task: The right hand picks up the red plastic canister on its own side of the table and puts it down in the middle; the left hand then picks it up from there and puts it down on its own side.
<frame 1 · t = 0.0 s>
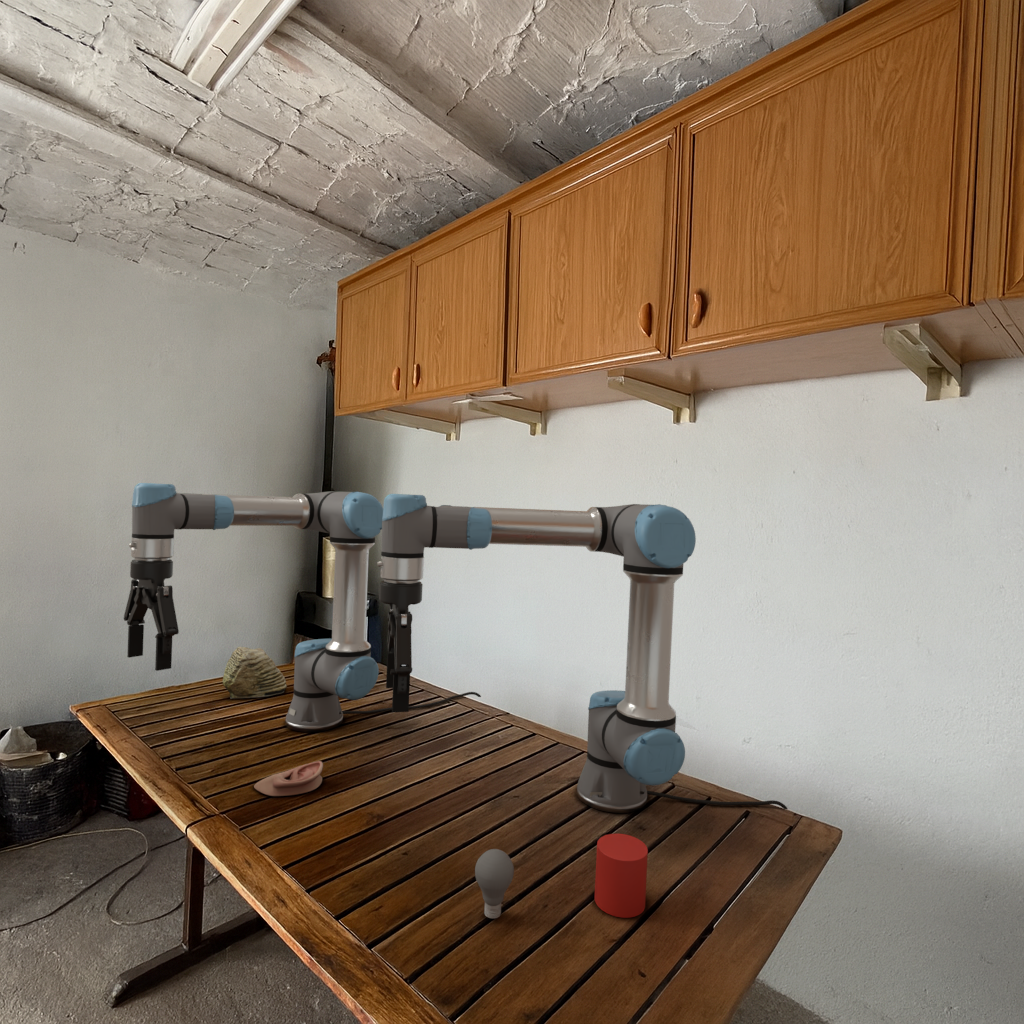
left hand: (148, 662, 129), 28 cm above the table, tool pointing down, fingers open, 13 cm apart
right hand: (396, 699, 113), 28 cm above the table, tool pointing down, fingers open, 13 cm apart
light bulb: (492, 917, 98), on the table
anatomical model: (288, 785, 138), on the table
canister: (619, 901, 103), on the table
fossil: (254, 694, 198), on the table
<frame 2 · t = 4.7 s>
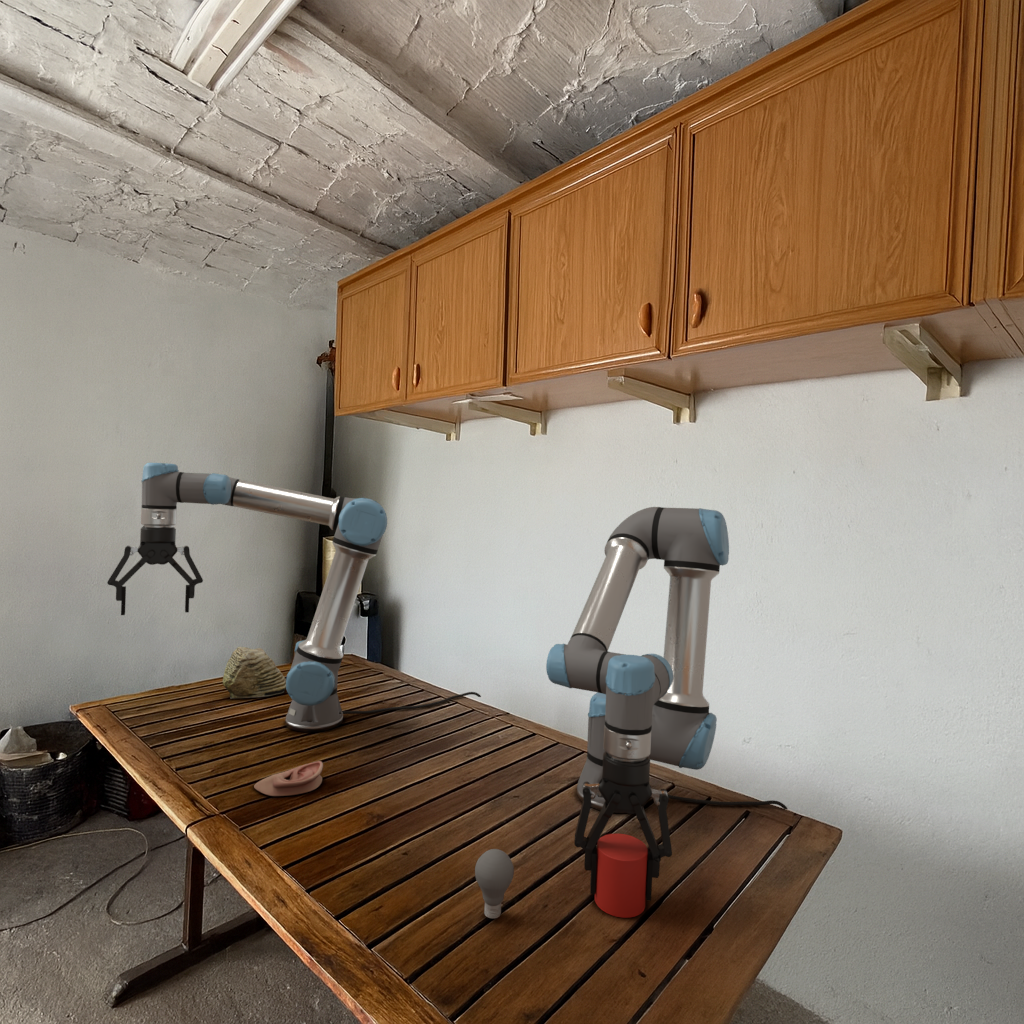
left hand: (155, 613, 155), 33 cm above the table, tool pointing down, fingers open, 13 cm apart
right hand: (620, 891, 103), 2 cm above the table, tool pointing down, fingers closed on canister, 8 cm apart
canister: (619, 901, 103), on the table, touching right hand
everything else where it was.
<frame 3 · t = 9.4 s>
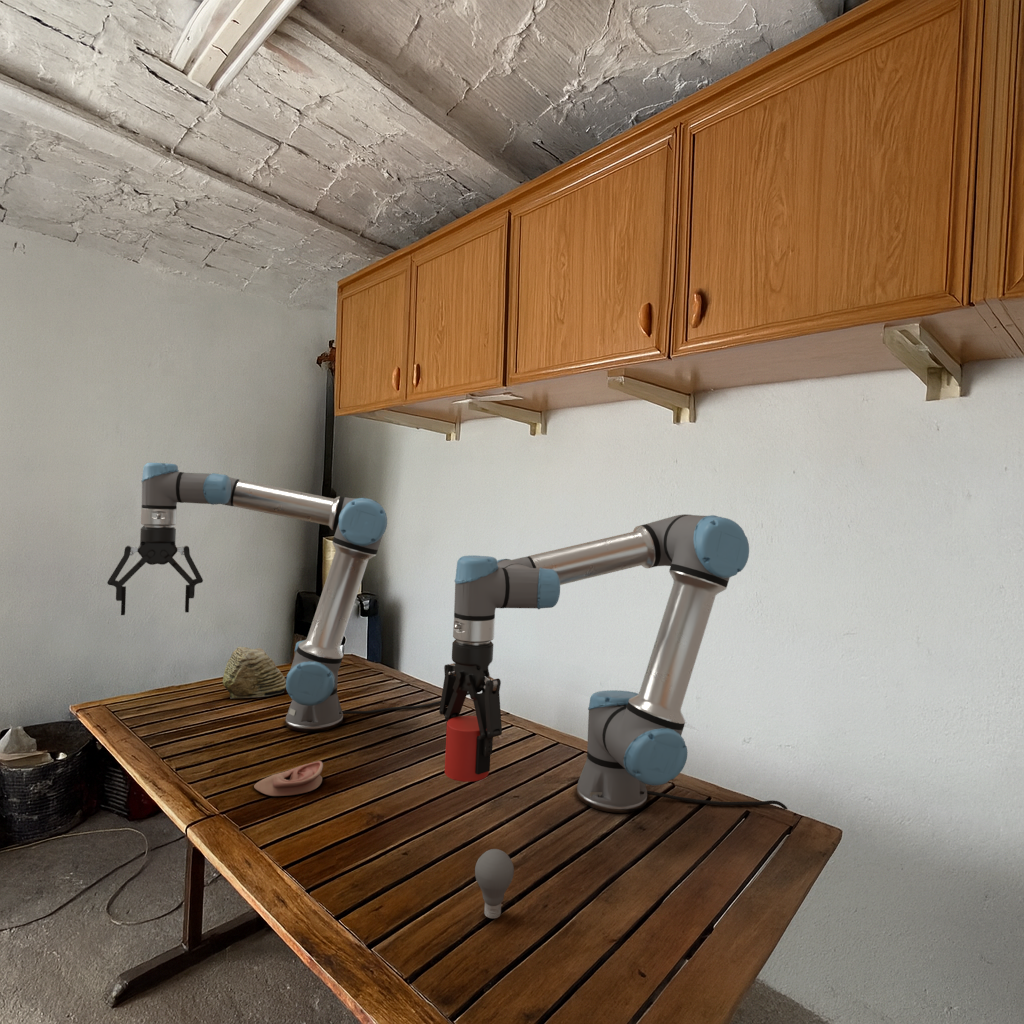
left hand: (155, 613, 155), 33 cm above the table, tool pointing down, fingers open, 13 cm apart
right hand: (467, 763, 116), 16 cm above the table, tool pointing down, fingers closed on canister, 8 cm apart
canister: (466, 772, 116), point 14 cm above the table, touching right hand
everything else where it was.
when the right hand's fingers open (3 cm above the table, at t = 13.9 s): canister drops 2 cm, on the table.
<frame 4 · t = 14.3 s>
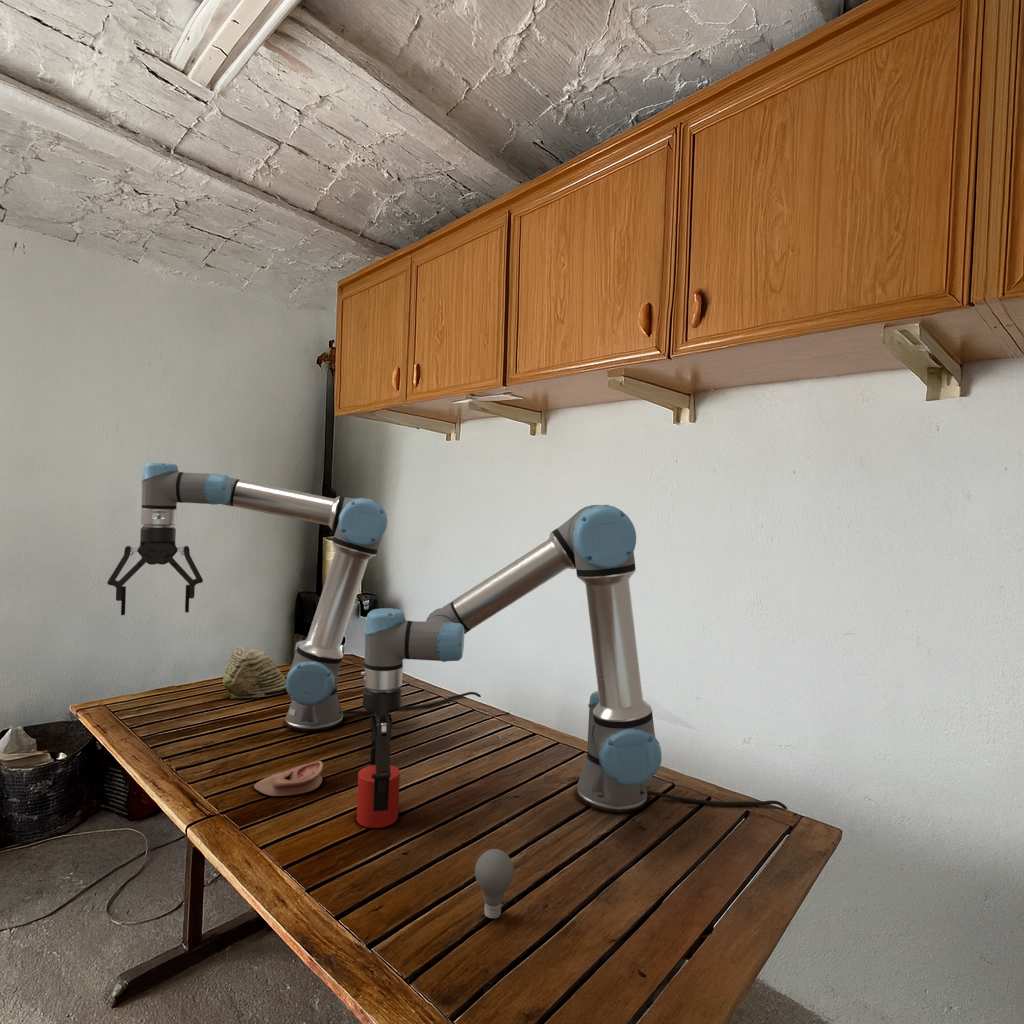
left hand: (155, 613, 155), 33 cm above the table, tool pointing down, fingers open, 13 cm apart
right hand: (378, 793, 126), 5 cm above the table, tool pointing down, fingers open, 13 cm apart
canister: (377, 817, 126), on the table
everything else where it was.
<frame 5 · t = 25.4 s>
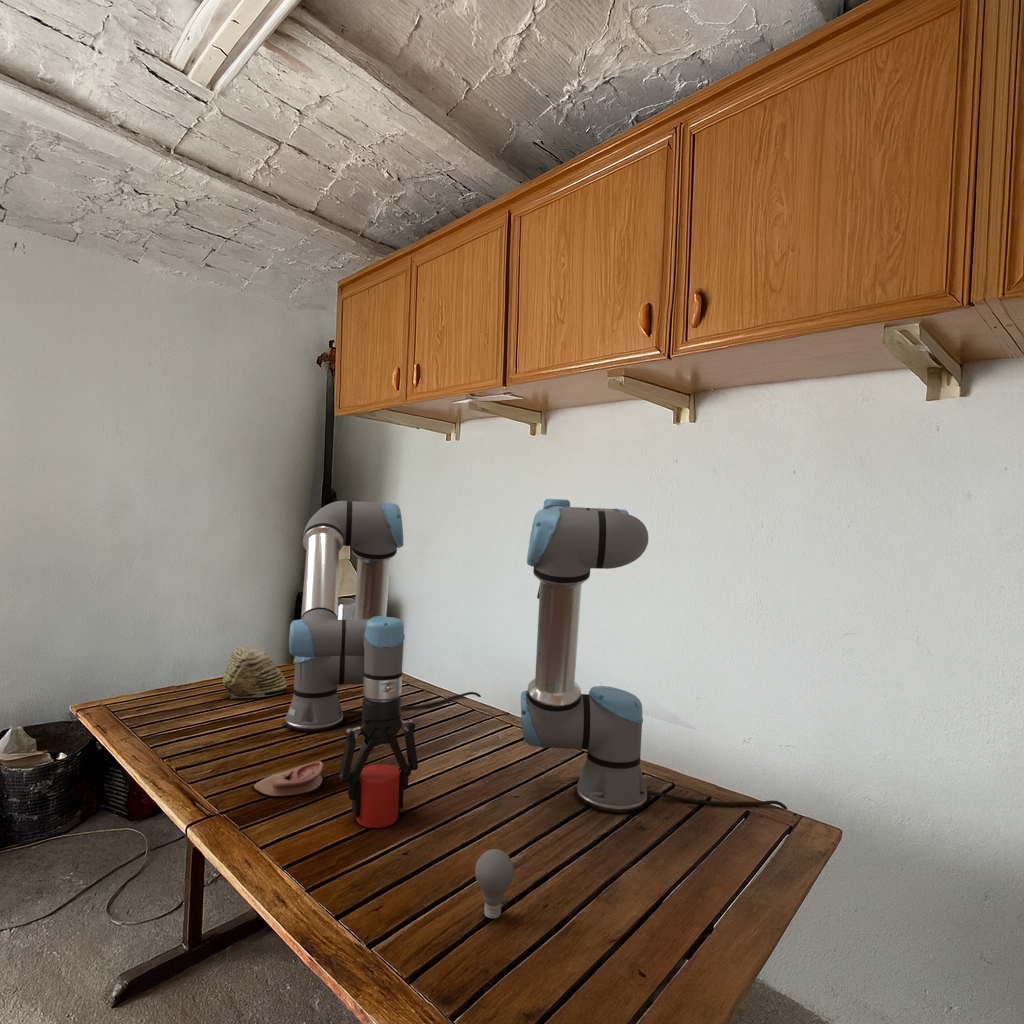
left hand: (377, 809, 126), 2 cm above the table, tool pointing down, fingers closed on canister, 8 cm apart
right hand: (551, 630, 177), 29 cm above the table, tool pointing down, fingers open, 13 cm apart
canister: (377, 817, 126), on the table, touching left hand
everything else where it was.
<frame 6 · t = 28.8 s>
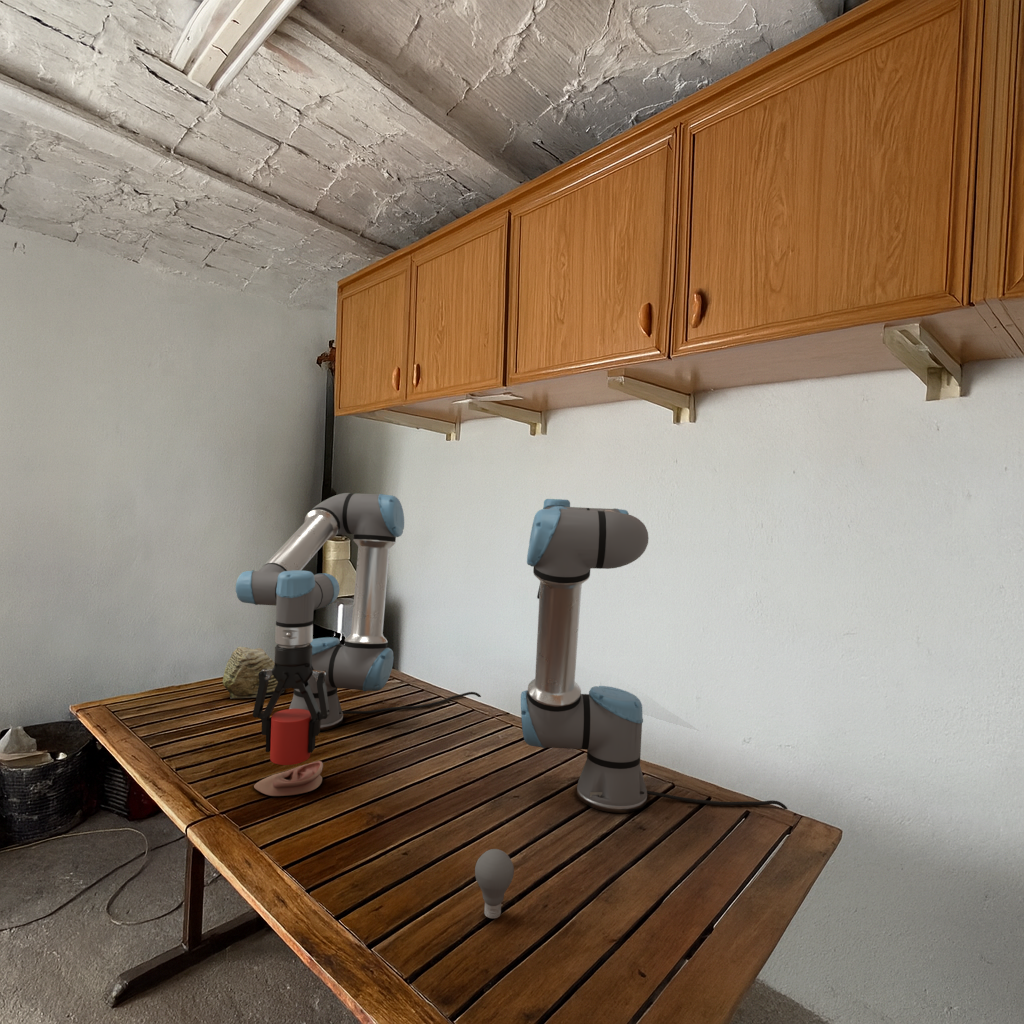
left hand: (290, 749, 135), 9 cm above the table, tool pointing down, fingers closed on canister, 8 cm apart
right hand: (551, 630, 177), 29 cm above the table, tool pointing down, fingers open, 13 cm apart
canister: (290, 757, 135), point 8 cm above the table, touching left hand
everything else where it was.
when the left hand's fingers open (3 cm above the table, at t = 32.6 s): canister drops 2 cm, on the table.
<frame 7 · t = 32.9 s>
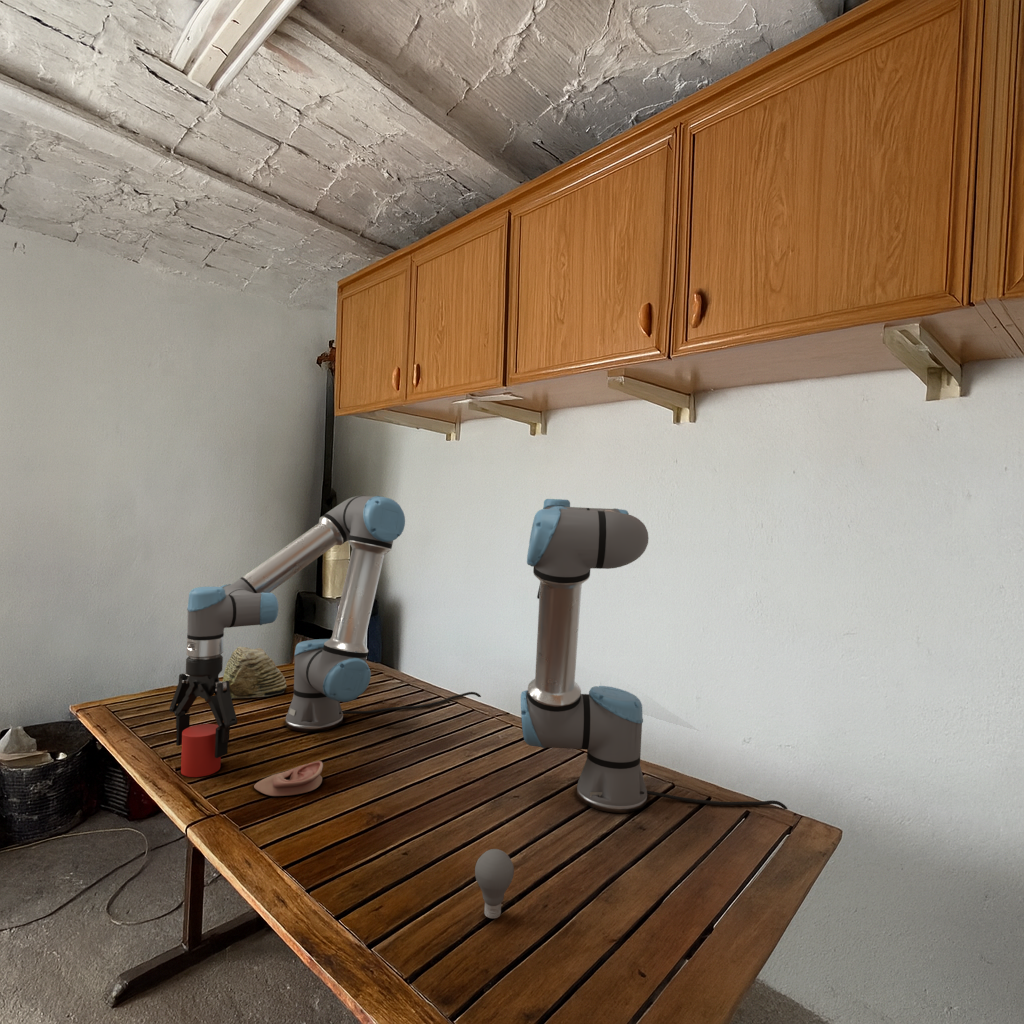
left hand: (201, 749, 144), 5 cm above the table, tool pointing down, fingers open, 12 cm apart
right hand: (551, 630, 177), 29 cm above the table, tool pointing down, fingers open, 13 cm apart
canister: (200, 769, 144), on the table
everything else where it was.
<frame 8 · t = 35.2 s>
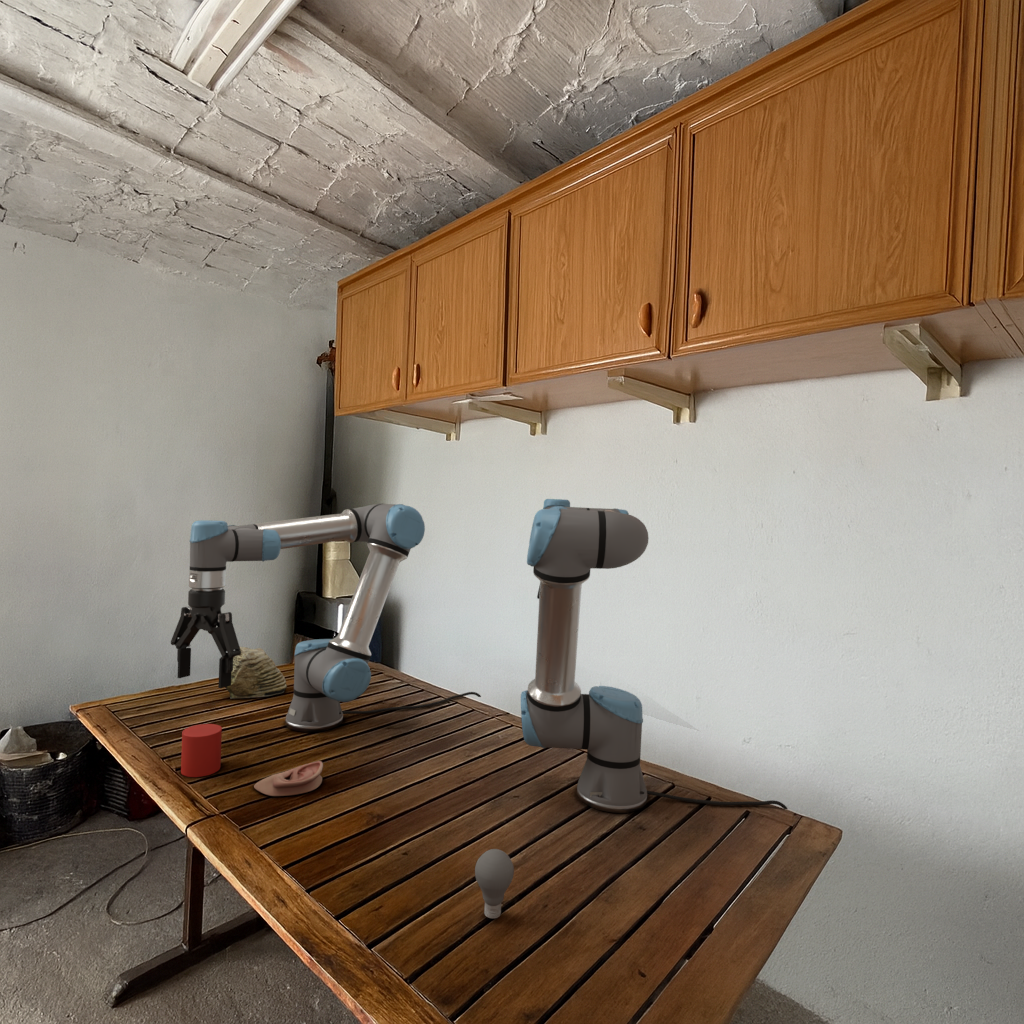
left hand: (203, 681, 144), 20 cm above the table, tool pointing down, fingers open, 13 cm apart
right hand: (551, 630, 177), 29 cm above the table, tool pointing down, fingers open, 13 cm apart
nothing on the table moved.
at the end: canister inside the target area (0.0 cm from its centre), on the table; canister tilted 0°; the two hands never held the canister at the same time; the left hand is holding nothing; the right hand is holding nothing; canister at rest at the end (0.0 cm/s) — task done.
